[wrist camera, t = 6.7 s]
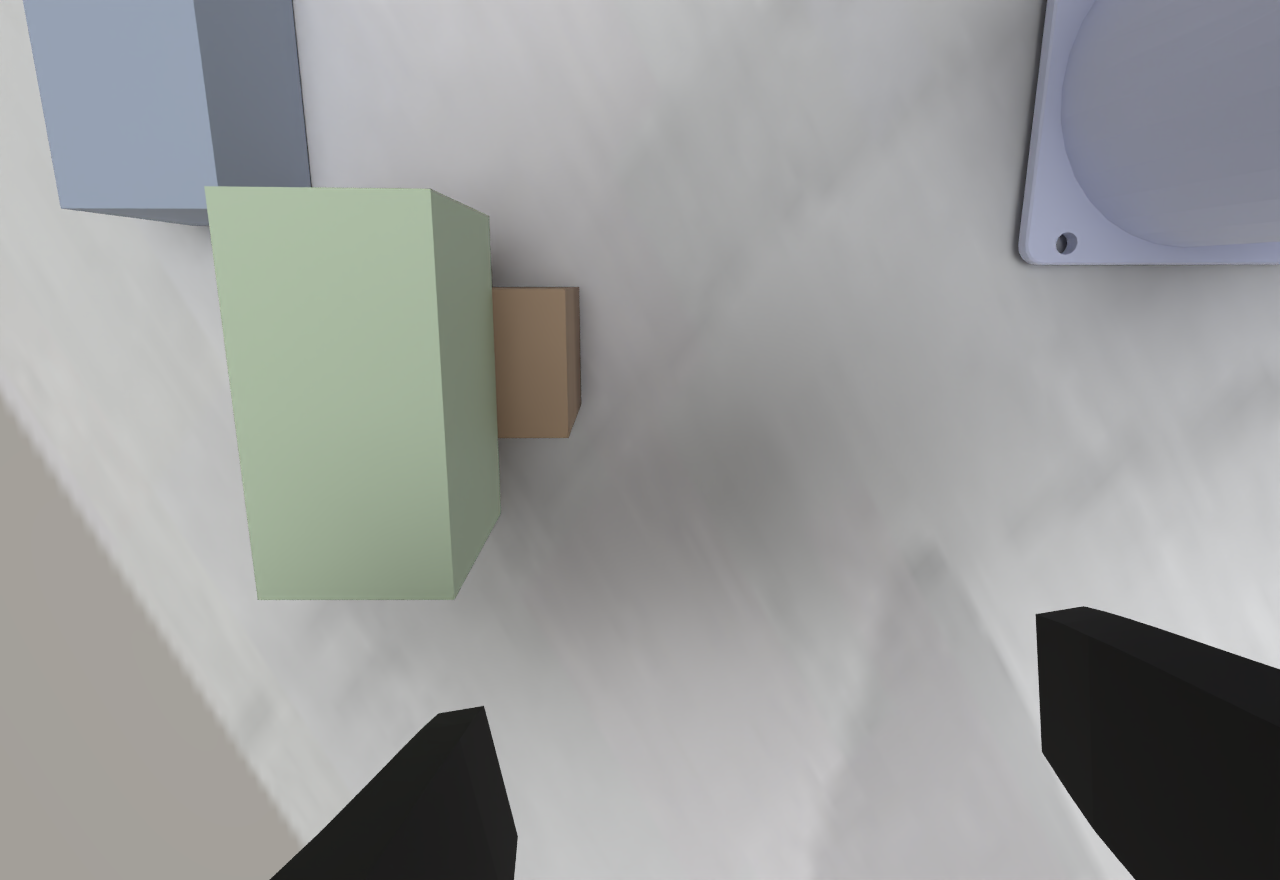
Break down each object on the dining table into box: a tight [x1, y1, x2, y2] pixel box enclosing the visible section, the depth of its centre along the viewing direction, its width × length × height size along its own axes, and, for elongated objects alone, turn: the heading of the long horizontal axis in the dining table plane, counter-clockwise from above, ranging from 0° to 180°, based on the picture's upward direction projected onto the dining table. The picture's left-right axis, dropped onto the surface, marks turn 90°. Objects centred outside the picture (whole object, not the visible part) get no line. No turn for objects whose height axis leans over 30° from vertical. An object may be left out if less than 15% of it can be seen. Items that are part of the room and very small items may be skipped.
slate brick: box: [23, 0, 311, 226], centre depth 14 cm, size 6×3×4 cm, turn 0°
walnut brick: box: [492, 287, 581, 438], centre depth 16 cm, size 6×3×4 cm, turn 90°
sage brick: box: [204, 186, 501, 600], centre depth 12 cm, size 6×3×4 cm, turn 0°
